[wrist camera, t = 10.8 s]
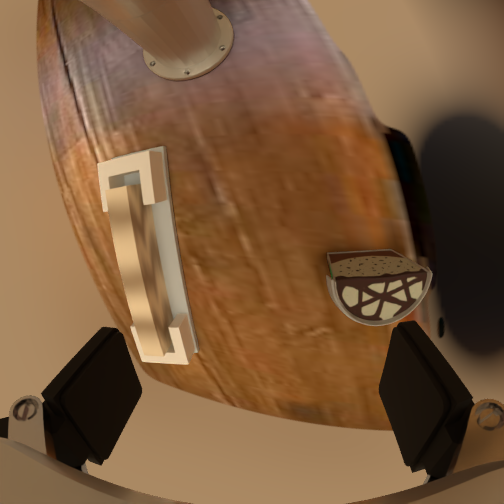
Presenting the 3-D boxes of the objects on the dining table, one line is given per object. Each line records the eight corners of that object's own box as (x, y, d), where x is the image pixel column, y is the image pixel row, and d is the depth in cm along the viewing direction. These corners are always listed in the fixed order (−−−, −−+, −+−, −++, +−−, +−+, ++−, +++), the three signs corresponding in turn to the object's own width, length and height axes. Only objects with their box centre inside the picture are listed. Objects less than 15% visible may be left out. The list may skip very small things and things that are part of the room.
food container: (315, 296, 37) (327, 336, 28) (315, 253, 36) (329, 282, 26) (396, 289, 36) (427, 322, 27) (400, 248, 34) (436, 272, 25)
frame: (115, 158, 34) (95, 157, 29) (165, 146, 33) (150, 143, 28) (153, 347, 42) (142, 365, 37) (199, 349, 41) (191, 368, 36)
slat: (129, 186, 34) (105, 190, 28) (148, 182, 34) (126, 185, 28) (159, 333, 40) (144, 355, 34) (177, 333, 39) (163, 356, 34)
